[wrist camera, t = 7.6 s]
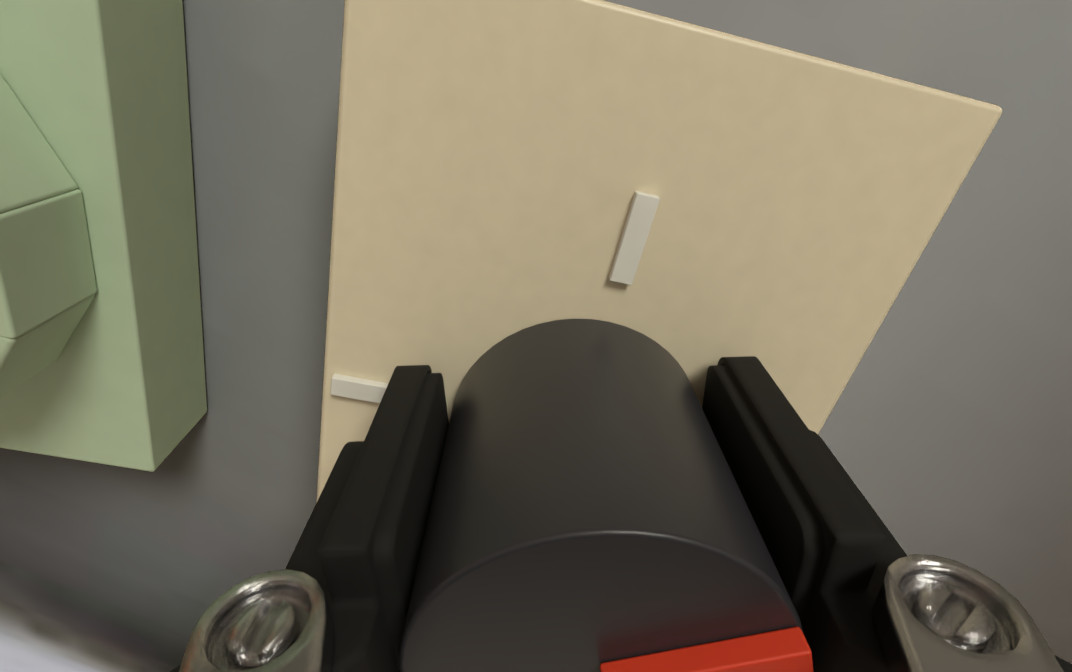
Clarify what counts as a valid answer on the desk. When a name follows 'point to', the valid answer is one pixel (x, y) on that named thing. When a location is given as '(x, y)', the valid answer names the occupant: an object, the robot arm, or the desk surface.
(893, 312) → the desk surface
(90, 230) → the button block
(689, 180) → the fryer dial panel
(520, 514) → the knob
